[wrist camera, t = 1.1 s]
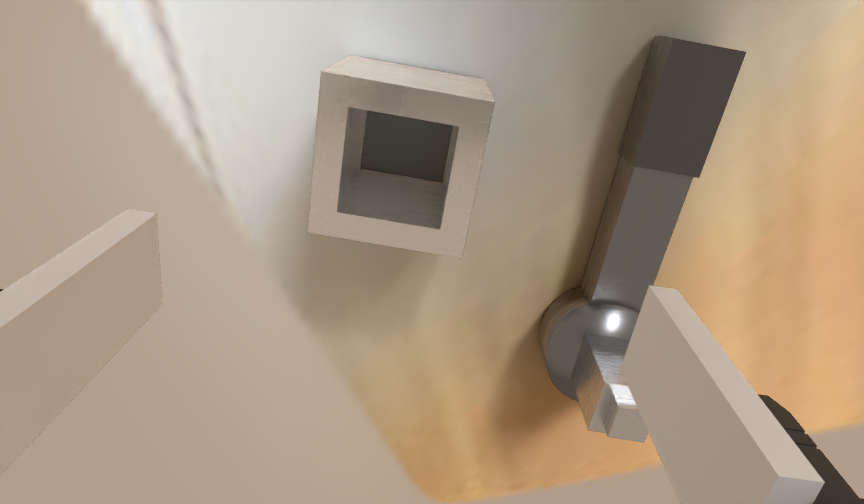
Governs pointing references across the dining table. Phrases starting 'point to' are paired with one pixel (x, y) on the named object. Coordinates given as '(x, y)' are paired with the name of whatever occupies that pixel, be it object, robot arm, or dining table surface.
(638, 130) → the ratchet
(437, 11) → the dining table surface
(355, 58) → the socket
